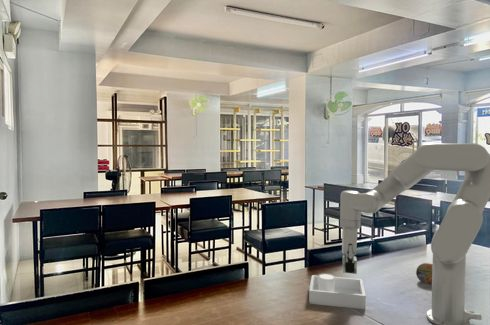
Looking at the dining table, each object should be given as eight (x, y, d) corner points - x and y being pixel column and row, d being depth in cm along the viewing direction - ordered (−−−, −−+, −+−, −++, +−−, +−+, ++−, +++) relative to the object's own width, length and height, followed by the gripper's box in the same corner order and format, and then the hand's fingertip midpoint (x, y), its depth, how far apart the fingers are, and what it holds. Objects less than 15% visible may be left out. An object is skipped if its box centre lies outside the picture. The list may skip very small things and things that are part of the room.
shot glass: (336, 298, 132) (336, 280, 132) (317, 297, 133) (317, 279, 133) (335, 290, 139) (335, 273, 138) (317, 289, 140) (317, 272, 140)
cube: (355, 269, 135) (355, 256, 135) (356, 273, 130) (356, 260, 130) (342, 268, 136) (342, 255, 136) (342, 272, 131) (342, 259, 131)
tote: (361, 291, 140) (362, 279, 140) (365, 309, 125) (365, 295, 124) (311, 286, 145) (311, 275, 145) (309, 303, 130) (309, 290, 129)
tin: (416, 282, 149) (416, 262, 149) (416, 279, 152) (416, 260, 151) (456, 288, 142) (457, 268, 142) (456, 285, 145) (456, 266, 144)
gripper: (339, 218, 141) (339, 261, 142) (340, 227, 125) (339, 277, 126) (358, 219, 140) (358, 263, 141) (362, 229, 123) (361, 279, 124)
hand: (349, 269), depth 133 cm, fingers closed on cube, 5 cm apart
